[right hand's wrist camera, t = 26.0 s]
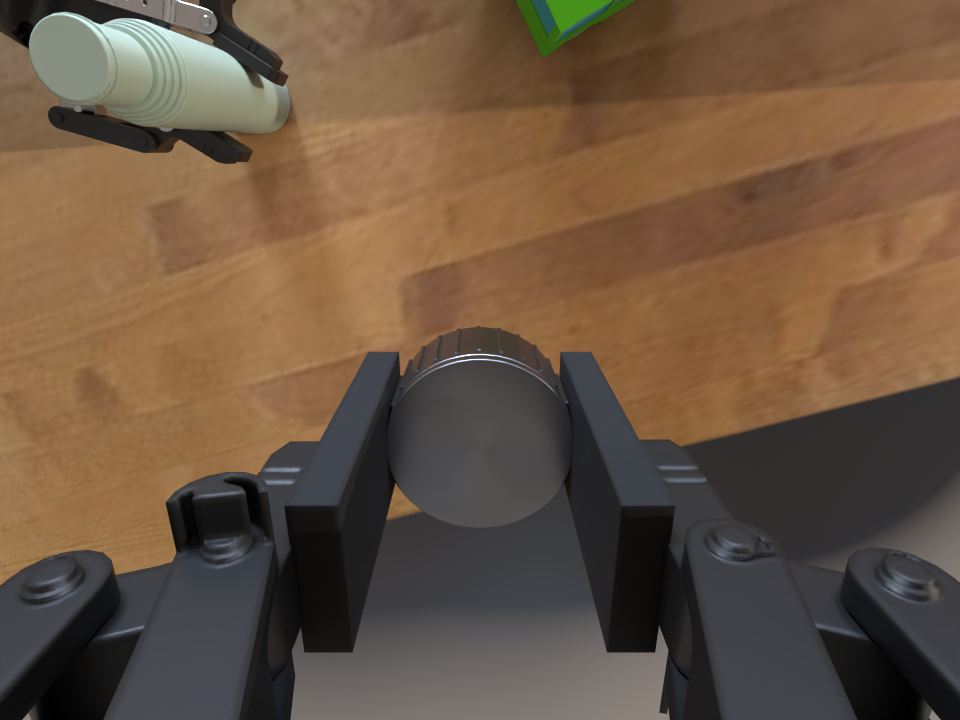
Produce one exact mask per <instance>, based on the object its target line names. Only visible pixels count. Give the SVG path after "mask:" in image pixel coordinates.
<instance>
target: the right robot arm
mask: <svg viewBox="0 0 960 720" xmlns="http://www.w3.org/2000/svg"><path fill="white" fill-rule="evenodd" d="M559 378H560V381H561V384H562V386H563V389H564V392H565V395H566V398H567V401H568V403H569V405H568V406H567V409H568V411H569V414H570V417H571V420H572V424H573V444H572V460H571V468H570V471H569V474H568V476H567V478H566V479H565V481H564V483H565V487H566V491H567V495H568V499H569V503H570V507H571V511H572V515H573V519H574V523H575V527H576V531H577V535H578V539H579V543H580V547H581V551H582V555H583V559H584V562H585V566H586V570H587V574H588V578H589V582H590V586H591V590H592V594H593V598H594V602H595V606H596V610H597V614H598V618H599V622H600V626H601V630H602V634H603V638H604V642H605V645H606V649H607V652H655V649H656V642H657V635H658V628H659V626H660V628H661V631H662V634H663V636H664V639H665V642H666V644H667V647H668V650H669V651H668V658H667V665H666V671H665V678H664V685H663V691H662V698H661V705H660V713H665V714H667V711H668V707H669V716H670V720H930V719H929V716H930V714H931V711H932V710H933V711H934V712H935V713H936V715H937V716H938V717H939V718H940V719H941V720H960V582H958V581H957V580H956V579H955V578H953V577H952V576H951V575H949V574H948V573H946V572H945V571H943V570H942V569H940V568H939V567H937V566H936V565H934V564H931V563H929V562H927V561H925V560H923V559H921V558H919V557H917V556H915V555H912V554H909V553H906V552H905V553H904V552H902V551H898V550H893V549H885V548H875V547H871V548H866V549H860V550H857V551H856V552H854V553H853V554H852V555H851V556H850V557H849V559H848V563H847V566H846V570H845V573H844V572H839V571H835V570H830V569H825V568H820V567H815V566H810V565H806V564H801V563H798V562H794V561H790V560H787V559H786V557H785V554H784V552H783V551H782V549H781V548H780V547H779V545H778V544H777V543H776V541H775V540H774V539H772V538H771V537H770V536H768V535H767V534H765V533H764V532H763V531H761V530H760V529H757V528H755V527H753V526H750V525H748V524H746V523H743V522H739V521H735V520H734V518H733V517H732V515H731V514H730V512H729V511H728V509H727V508H726V507H725V505H724V504H723V502H722V501H721V499H720V498H719V496H718V495H717V493H716V492H715V491H714V489H713V488H712V486H711V485H710V483H707V479H706V477H705V476H704V475H703V473H702V472H701V470H699V469H698V466H697V464H696V463H695V461H694V460H693V459H692V457H691V456H690V454H689V453H688V452H687V451H685V450H684V449H682V448H681V447H679V446H678V445H676V444H675V443H674V442H672V441H671V440H639V438H638V437H637V435H636V433H635V431H634V429H633V427H632V426H631V424H630V422H629V420H628V418H627V417H626V415H625V413H624V411H623V409H622V407H621V406H620V404H619V402H618V400H617V398H616V396H615V395H614V393H613V391H612V389H611V387H610V386H609V384H608V382H607V380H606V378H605V376H604V375H603V373H602V371H601V369H600V367H599V365H598V364H597V362H596V360H595V358H594V356H593V355H592V353H591V352H561V356H560V376H559ZM399 379H400V363H399V352H368V354H367V356H366V357H365V359H364V361H363V363H362V365H361V367H360V368H359V370H358V372H357V374H356V376H355V378H354V379H353V381H352V383H351V385H350V387H349V388H348V390H347V392H346V394H345V396H344V398H343V399H342V401H341V403H340V405H339V407H338V409H337V410H336V412H335V414H334V416H333V418H332V419H331V421H330V423H329V425H328V427H327V429H326V430H325V432H324V434H323V436H322V438H321V440H320V441H319V442H289V443H288V444H286V445H285V446H283V447H282V448H280V449H279V450H277V451H276V452H274V453H273V454H271V456H270V457H269V459H268V460H267V462H266V463H265V465H264V466H263V468H262V469H261V472H259V473H258V475H254V474H250V473H246V472H226V473H220V474H215V475H210V476H206V477H204V478H201V479H198V480H196V481H193V482H190V483H189V484H187V485H185V486H184V487H182V488H181V489H179V490H177V491H176V492H174V494H173V495H172V496H171V497H170V498H169V499H168V500H167V502H166V506H167V511H168V515H169V520H170V524H171V529H172V533H173V538H174V542H175V547H176V551H177V553H176V555H175V558H174V560H173V562H171V563H167V564H164V565H160V566H156V567H152V568H147V569H142V570H137V571H133V572H128V573H123V574H118V575H115V572H114V568H113V564H112V561H111V559H110V558H109V557H107V556H106V555H105V554H104V553H102V552H97V551H91V550H82V551H71V552H65V553H61V554H58V555H53V556H50V557H47V558H44V559H42V560H41V561H39V562H37V563H35V564H32V565H30V566H28V567H26V568H24V569H22V570H21V571H20V572H18V573H17V574H15V575H14V576H12V577H11V578H10V579H8V580H7V581H5V582H4V583H3V584H2V585H1V586H0V720H22V719H23V718H24V717H25V716H26V715H27V713H29V715H30V718H31V720H290V718H291V709H292V699H293V691H294V682H295V671H294V664H293V658H292V649H293V646H294V644H295V641H296V638H297V636H298V633H299V630H300V628H301V630H302V638H303V645H304V652H353V648H354V644H355V640H356V636H357V632H358V628H359V624H360V620H361V616H362V612H363V609H364V604H365V601H366V597H367V593H368V589H369V585H370V581H371V577H372V573H373V569H374V565H375V561H376V557H377V553H378V549H379V545H380V541H381V537H382V533H383V529H384V525H385V522H386V518H387V514H388V510H389V506H390V502H391V498H392V494H393V490H394V486H395V480H394V478H393V477H392V475H391V472H390V469H389V466H388V451H387V435H386V427H387V423H388V419H389V416H390V413H391V410H392V408H391V407H390V405H391V402H392V399H393V396H394V393H395V390H396V387H397V384H398V382H399Z"/></svg>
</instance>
